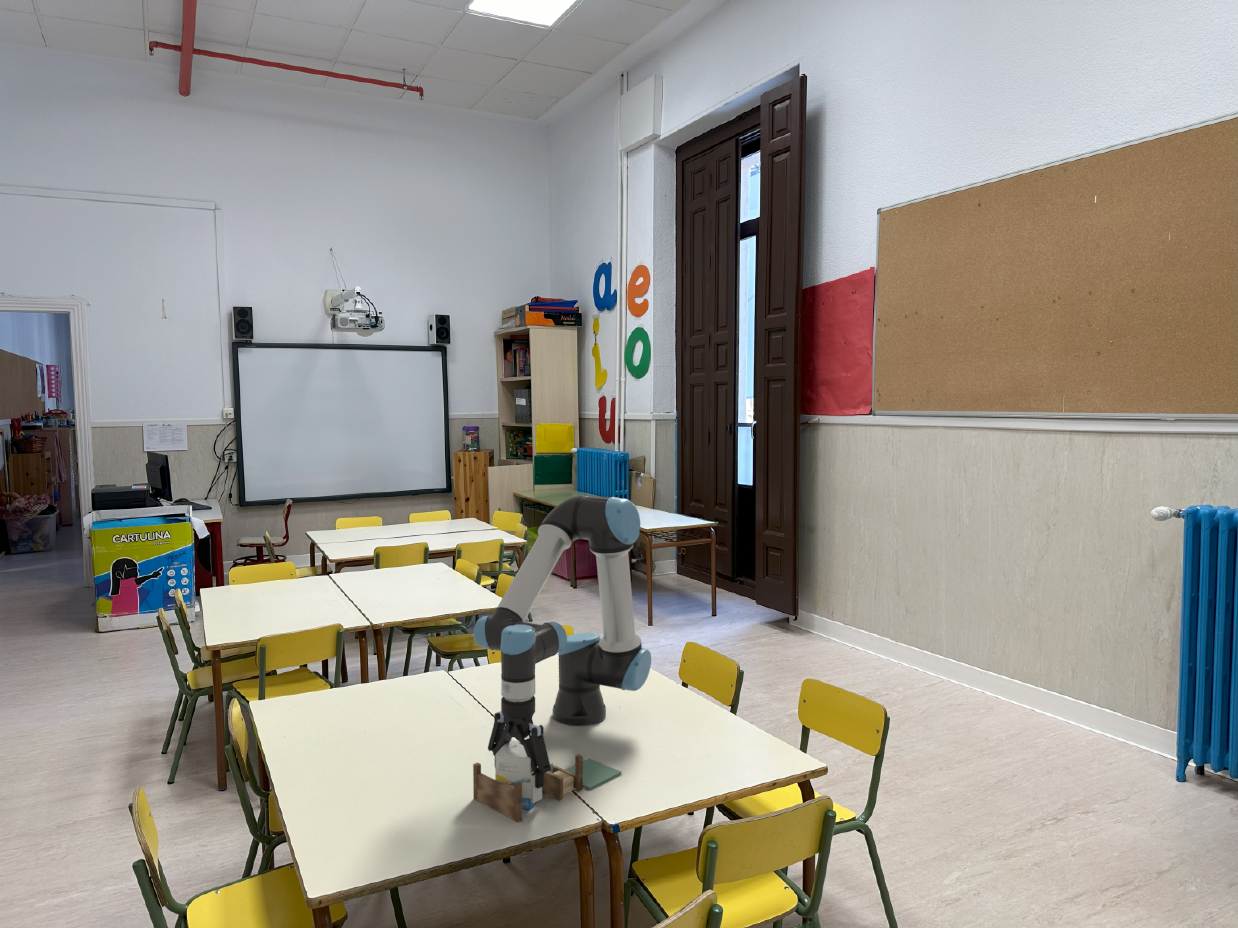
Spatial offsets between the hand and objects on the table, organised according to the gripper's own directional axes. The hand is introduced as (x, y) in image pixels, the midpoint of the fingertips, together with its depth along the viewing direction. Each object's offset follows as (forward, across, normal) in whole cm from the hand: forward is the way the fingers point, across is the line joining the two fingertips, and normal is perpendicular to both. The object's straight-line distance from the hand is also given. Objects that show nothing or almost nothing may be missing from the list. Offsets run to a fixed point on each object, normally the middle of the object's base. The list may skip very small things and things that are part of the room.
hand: (518, 791), depth 180 cm
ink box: (+2, 0, 0) cm, 2 cm away
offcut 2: (+2, +4, +9) cm, 10 cm away
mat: (+2, +4, +19) cm, 20 cm away
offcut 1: (0, -3, +9) cm, 9 cm away
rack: (+2, 0, +3) cm, 4 cm away
